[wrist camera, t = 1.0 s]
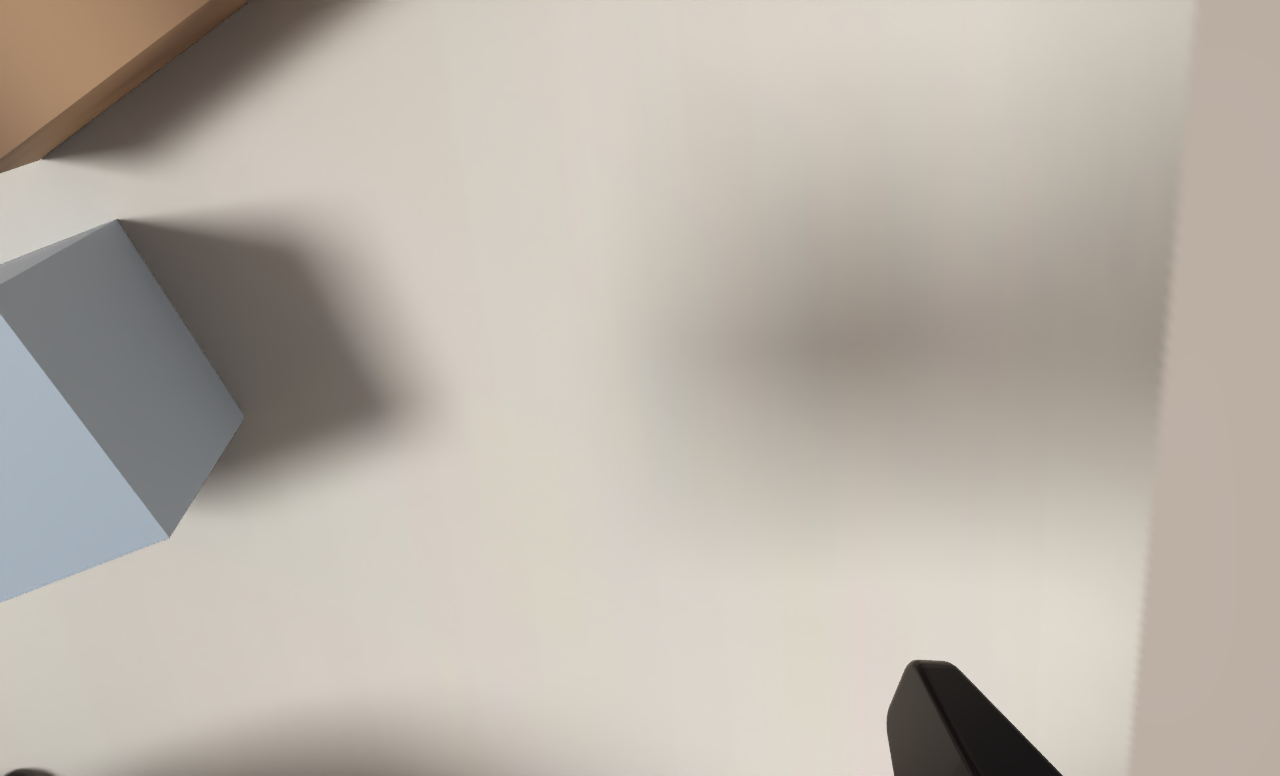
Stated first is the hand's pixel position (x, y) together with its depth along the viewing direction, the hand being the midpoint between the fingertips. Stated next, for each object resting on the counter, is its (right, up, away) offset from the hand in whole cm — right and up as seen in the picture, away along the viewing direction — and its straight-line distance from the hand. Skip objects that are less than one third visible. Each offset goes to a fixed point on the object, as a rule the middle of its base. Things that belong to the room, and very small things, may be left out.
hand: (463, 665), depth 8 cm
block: (-11, +3, +10) cm, 15 cm away
